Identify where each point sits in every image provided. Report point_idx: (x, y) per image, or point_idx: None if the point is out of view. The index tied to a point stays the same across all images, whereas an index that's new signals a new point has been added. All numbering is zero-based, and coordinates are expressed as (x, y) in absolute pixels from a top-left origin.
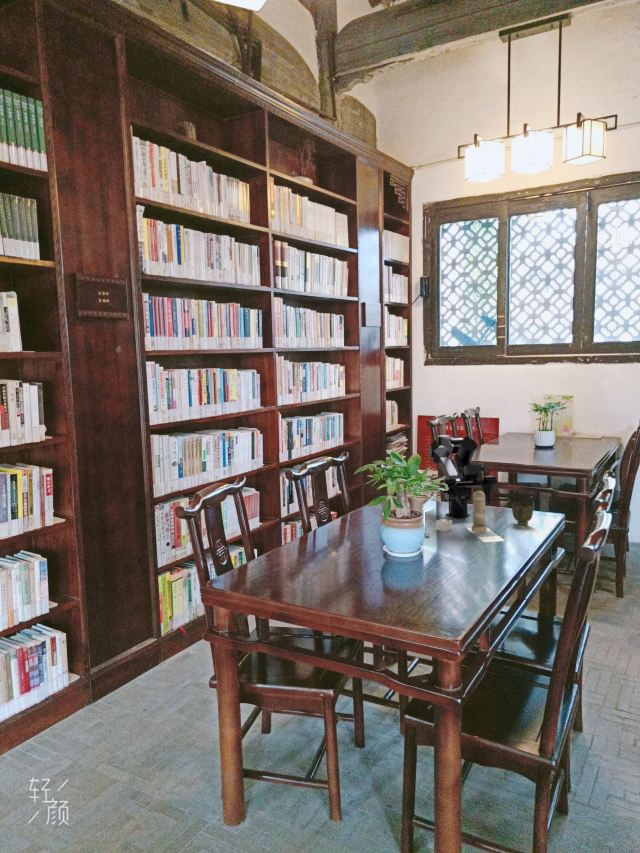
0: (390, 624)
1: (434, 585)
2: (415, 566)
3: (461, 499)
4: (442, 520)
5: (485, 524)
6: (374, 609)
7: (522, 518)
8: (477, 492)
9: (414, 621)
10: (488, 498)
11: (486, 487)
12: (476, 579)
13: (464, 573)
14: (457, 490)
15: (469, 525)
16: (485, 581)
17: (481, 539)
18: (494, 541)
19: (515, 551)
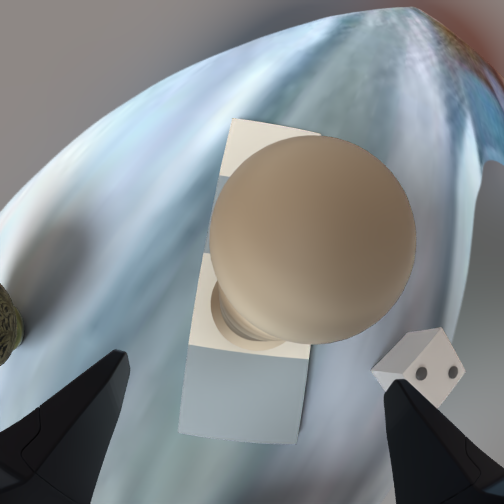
0: (465, 43)
1: (444, 59)
2: (480, 120)
3: (426, 417)
4: (440, 382)
5: (211, 307)
6: (485, 66)
7: (2, 286)
8: (384, 166)
9: (449, 33)
10: (90, 382)
11: (15, 493)
12: (388, 36)
13: (404, 55)
14: (490, 485)
15: (267, 404)
16: (375, 27)
17: None
18: (277, 125)
19: (244, 72)
